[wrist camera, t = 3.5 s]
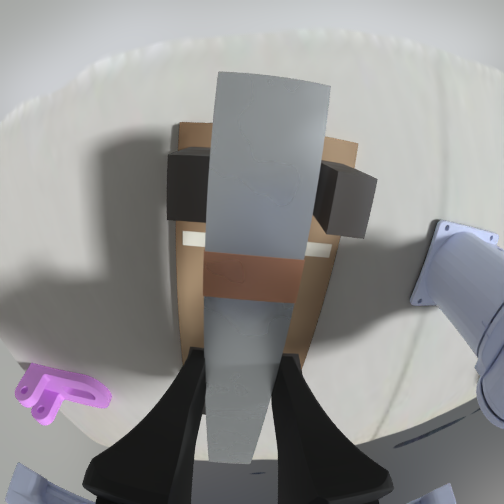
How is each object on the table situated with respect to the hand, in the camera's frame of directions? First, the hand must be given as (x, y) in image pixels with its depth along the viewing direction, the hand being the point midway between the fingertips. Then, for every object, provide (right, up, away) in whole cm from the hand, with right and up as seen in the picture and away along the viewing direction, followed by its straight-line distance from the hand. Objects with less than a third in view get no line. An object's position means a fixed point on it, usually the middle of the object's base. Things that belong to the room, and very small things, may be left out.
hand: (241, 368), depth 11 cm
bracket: (-23, -12, +16) cm, 31 cm away
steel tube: (0, +1, +2) cm, 2 cm away
